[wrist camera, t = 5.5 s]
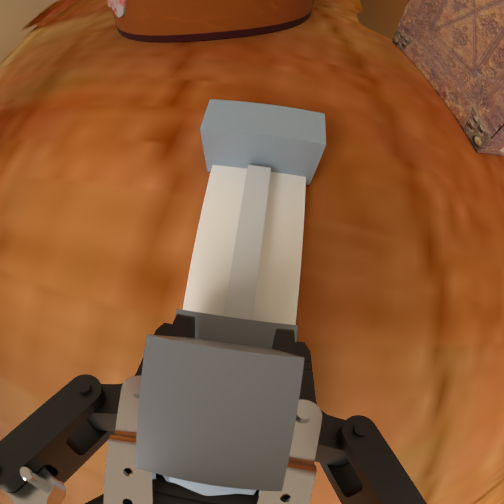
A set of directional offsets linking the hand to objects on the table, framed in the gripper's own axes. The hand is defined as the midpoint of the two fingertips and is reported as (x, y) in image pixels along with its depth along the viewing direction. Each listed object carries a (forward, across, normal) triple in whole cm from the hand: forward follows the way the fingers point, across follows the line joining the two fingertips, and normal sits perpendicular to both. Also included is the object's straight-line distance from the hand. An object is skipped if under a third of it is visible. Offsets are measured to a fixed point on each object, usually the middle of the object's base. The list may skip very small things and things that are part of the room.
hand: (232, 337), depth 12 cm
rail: (+6, 0, +2) cm, 7 cm away
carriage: (+2, 0, +5) cm, 5 cm away
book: (+30, -27, -21) cm, 45 cm away
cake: (+40, +12, -31) cm, 52 cm away
